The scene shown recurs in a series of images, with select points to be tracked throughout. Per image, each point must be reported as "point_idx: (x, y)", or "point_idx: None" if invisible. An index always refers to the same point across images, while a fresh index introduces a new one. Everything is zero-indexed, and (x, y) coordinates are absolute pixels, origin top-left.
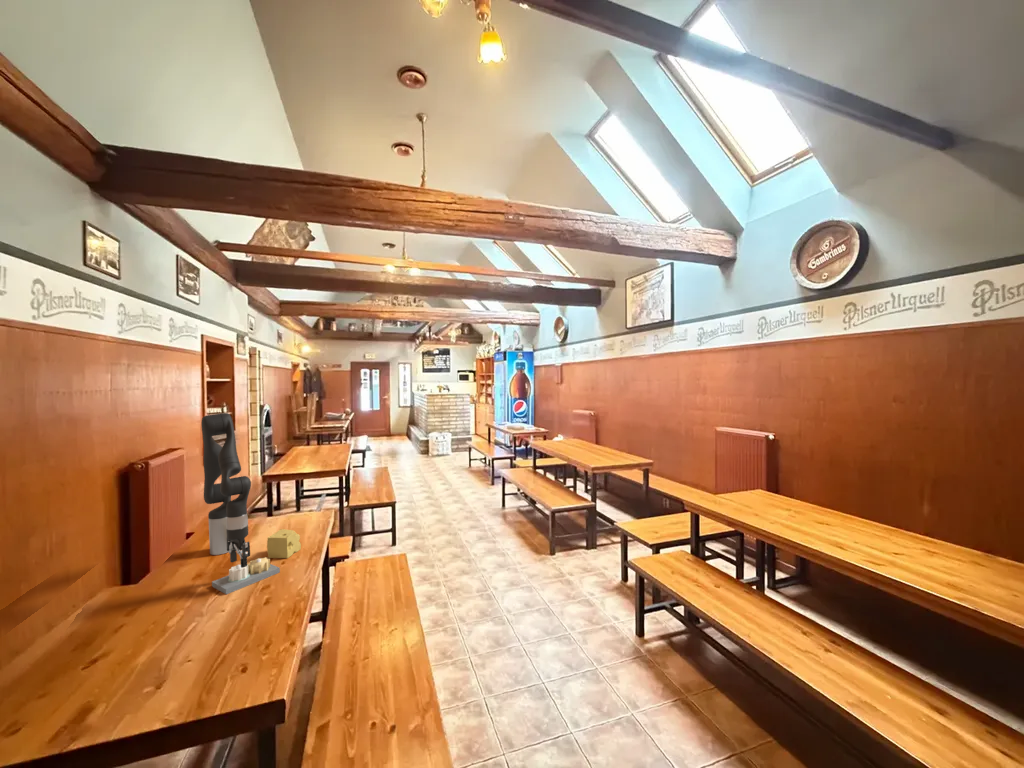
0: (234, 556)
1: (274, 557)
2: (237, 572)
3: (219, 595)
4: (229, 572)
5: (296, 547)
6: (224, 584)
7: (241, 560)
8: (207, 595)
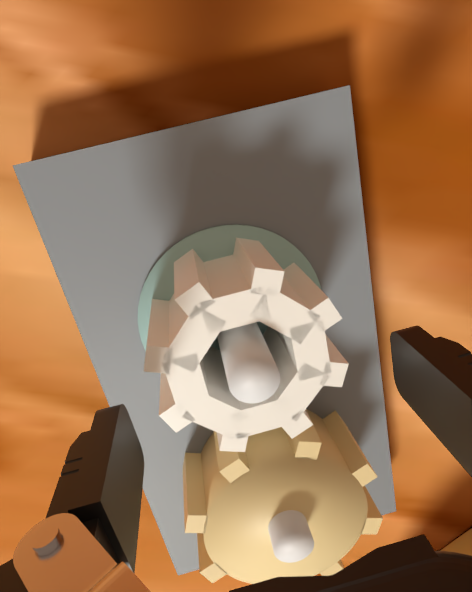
0: (434, 409)
1: (455, 544)
2: (170, 332)
3: (56, 105)
4: (248, 261)
5: None
6: (167, 177)
7: (76, 489)
8: (145, 5)
